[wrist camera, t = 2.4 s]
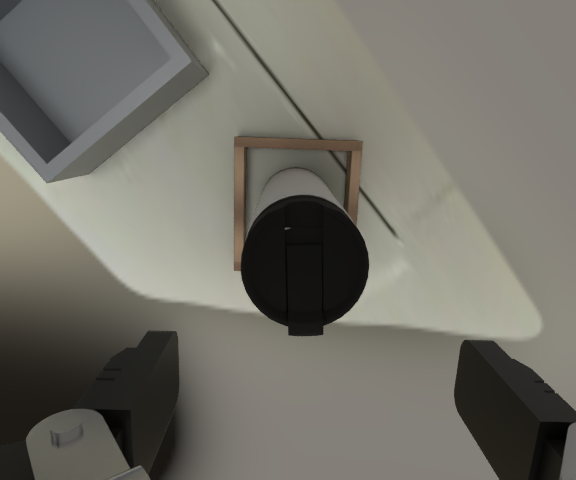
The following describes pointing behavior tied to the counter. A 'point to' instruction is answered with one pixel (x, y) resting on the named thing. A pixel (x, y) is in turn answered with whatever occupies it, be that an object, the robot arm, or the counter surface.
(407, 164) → the counter surface
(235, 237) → the walnut holder
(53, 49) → the gray bin
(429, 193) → the counter surface
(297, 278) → the travel mug
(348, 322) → the counter surface
